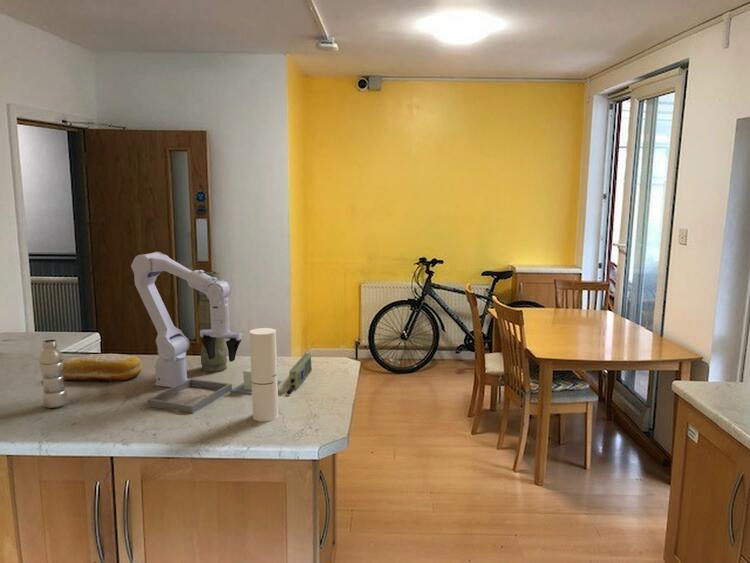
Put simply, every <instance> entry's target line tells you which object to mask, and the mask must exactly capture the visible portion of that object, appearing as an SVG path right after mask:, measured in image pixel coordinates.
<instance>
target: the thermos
mask: <svg viewBox="0 0 750 563" xmlns="http://www.w3.org/2000/svg"><path fill="white" fill-rule="evenodd" d="M204 273H205V274H207V275H209V276H211V277H216V278H217V280H222V278H221V276H220V274H219V272H217V271H204ZM195 291H196V303H197V312H198V323H199V325H200V331H201V330H203V329H204V330H211V314H210V301H209V299H208V298H207V296H206V294H204V293H202V292H200V291H199V290H197V289H195ZM202 338H203V337H201V338H200V340H201V339H202ZM227 357H228V356H227V348H226V346H225V338H216V340H215V358H213V359H209V357H208V353H207V351H206V348H205V347H204V345H203V343H202V342H201V348H200V364H201V372H203V373H206V374H215V373H221V372H224V371H226V370H227V369H228V366H227V362H228V359H227Z"/></svg>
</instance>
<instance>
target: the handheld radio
mask: <svg viewBox="0 0 750 563" xmlns="http://www.w3.org/2000/svg"><path fill="white" fill-rule="evenodd" d="M312 368H313V367H312V354H311V353H304V354H303V355H302V356H301V357H300V359H299V360H298V361H297V362H296V363H295V364H294V365H293V366H292V368H290V370H289V373H288V374H289V385H290V386H289V389H288V390H287V391H286V394H287V395H288V396H289V395H291V393H292V392H293V391H297V390H298V389H300V387H301V386H302V384H303V383H304V382H305V381H306V379H307V378H308V377H309V376H310V374H311V372H312V371H313V370H312Z"/></svg>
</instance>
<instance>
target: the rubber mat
mask: <svg viewBox="0 0 750 563" xmlns="http://www.w3.org/2000/svg"><path fill="white" fill-rule="evenodd" d="M281 383H282V380H279V379H277V386H278V385H279V384H281ZM230 392H231V393H236V394H237V393H238V394H244V395H251V396H252V390H247V389H244V382H242V383H240V384H239V385H236V386H235V387H234V388H232V390H231V391H230Z"/></svg>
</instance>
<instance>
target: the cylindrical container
mask: <svg viewBox="0 0 750 563" xmlns="http://www.w3.org/2000/svg"><path fill="white" fill-rule="evenodd" d="M249 347H250V348H249V351H250V367H251V380H252V395H251V399H252V400H251V401H252V402H251V405H252V418H253V420H254V421H257V422H271V421H274V420H276V419H277V418H278V417H279V397H278V396H279V393H278V392H279V391H278V389H279V388H278V387H279V386H278V385H277V380H278V362H277V361H278V359H277V358H278V356H277V352H278V351H277V330H276V329H274V328H271V327H259V328H253V329H250V330H249Z"/></svg>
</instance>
